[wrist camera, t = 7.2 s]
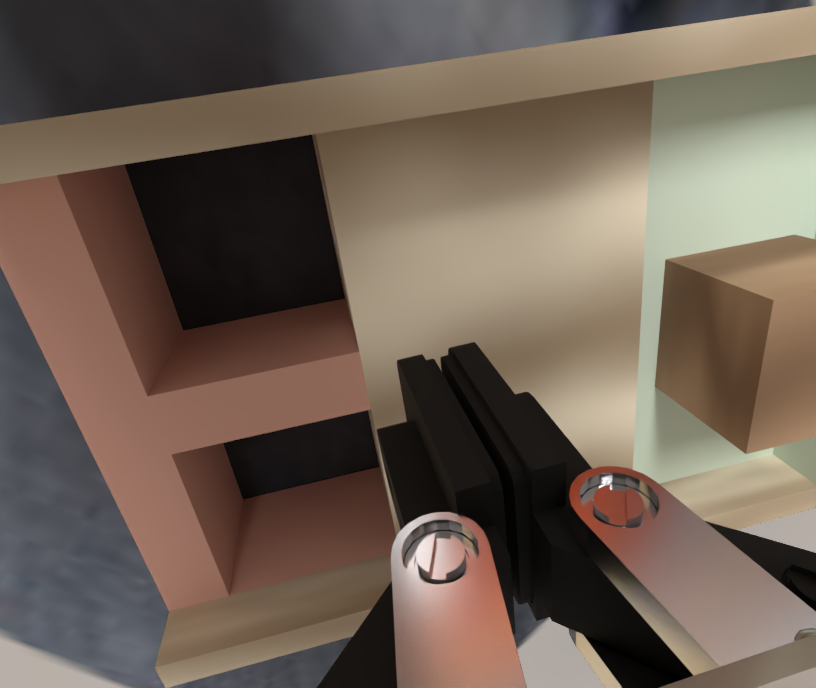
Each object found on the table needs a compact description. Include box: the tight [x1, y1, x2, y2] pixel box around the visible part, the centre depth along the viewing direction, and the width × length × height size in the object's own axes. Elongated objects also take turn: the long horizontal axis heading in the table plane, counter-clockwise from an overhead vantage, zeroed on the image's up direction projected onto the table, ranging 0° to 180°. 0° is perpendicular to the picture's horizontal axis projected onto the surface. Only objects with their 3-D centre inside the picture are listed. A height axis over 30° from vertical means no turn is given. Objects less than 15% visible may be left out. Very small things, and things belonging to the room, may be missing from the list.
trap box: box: [0, 6, 816, 688], centre depth 16 cm, size 16×24×9 cm, turn 98°
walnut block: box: [655, 235, 816, 454], centre depth 15 cm, size 4×4×4 cm
